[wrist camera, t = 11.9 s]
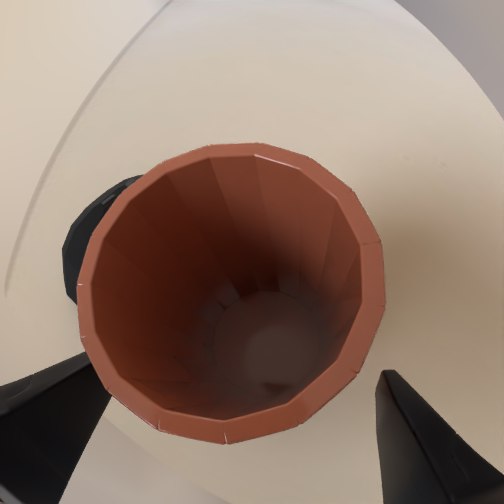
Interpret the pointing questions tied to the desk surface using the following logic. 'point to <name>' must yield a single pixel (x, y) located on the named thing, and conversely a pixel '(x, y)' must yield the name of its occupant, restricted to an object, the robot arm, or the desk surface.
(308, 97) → the desk surface
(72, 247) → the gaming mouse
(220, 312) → the pen cup
